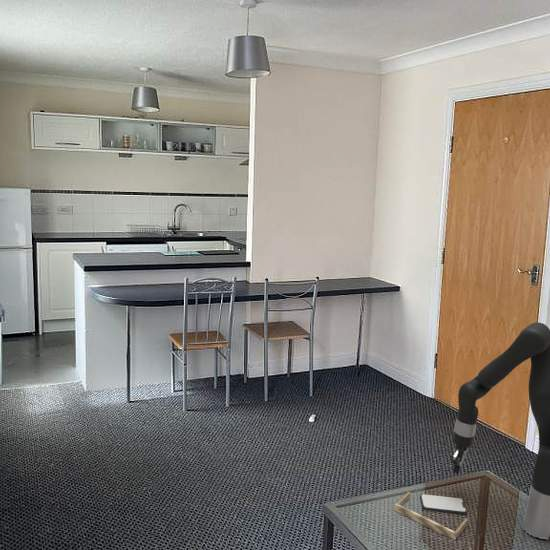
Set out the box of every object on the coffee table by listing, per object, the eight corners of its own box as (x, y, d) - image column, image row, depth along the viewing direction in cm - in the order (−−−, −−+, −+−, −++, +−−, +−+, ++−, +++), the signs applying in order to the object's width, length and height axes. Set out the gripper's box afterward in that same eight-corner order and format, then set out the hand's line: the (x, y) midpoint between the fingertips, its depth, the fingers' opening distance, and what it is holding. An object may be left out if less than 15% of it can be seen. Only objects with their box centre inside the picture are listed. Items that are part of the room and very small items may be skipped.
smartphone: (422, 511, 219) (467, 516, 217) (423, 507, 218) (468, 512, 217) (419, 496, 227) (462, 501, 226) (419, 493, 227) (462, 498, 225)
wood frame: (466, 525, 212) (468, 518, 211) (455, 540, 203) (456, 534, 203) (407, 497, 225) (408, 491, 224) (394, 510, 217) (395, 504, 216)
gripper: (467, 441, 216) (459, 483, 220) (480, 428, 226) (472, 469, 231) (448, 433, 220) (440, 475, 224) (461, 421, 230) (453, 461, 235)
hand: (456, 472), depth 228 cm, fingers closed
